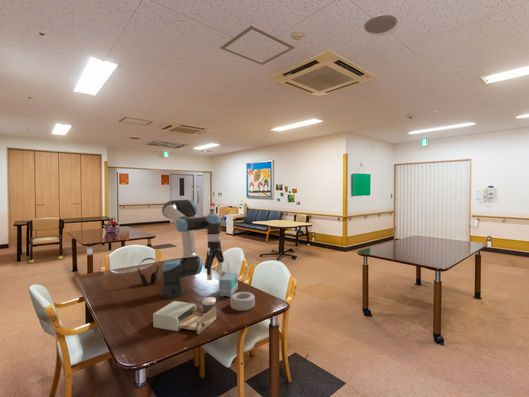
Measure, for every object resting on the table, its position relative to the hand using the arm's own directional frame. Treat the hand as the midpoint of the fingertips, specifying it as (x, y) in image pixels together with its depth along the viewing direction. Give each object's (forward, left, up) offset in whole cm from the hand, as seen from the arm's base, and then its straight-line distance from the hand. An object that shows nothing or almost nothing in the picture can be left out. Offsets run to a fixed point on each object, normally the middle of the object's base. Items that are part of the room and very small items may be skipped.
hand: (215, 276), depth 171 cm
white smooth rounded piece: (-2, -5, -14) cm, 15 cm away
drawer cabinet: (-14, -20, -20) cm, 31 cm away
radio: (-4, +26, -20) cm, 33 cm away
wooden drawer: (-1, -20, -20) cm, 28 cm away
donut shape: (+13, +9, -20) cm, 26 cm away
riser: (-2, -5, -20) cm, 21 cm away
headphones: (-72, +26, -20) cm, 79 cm away
